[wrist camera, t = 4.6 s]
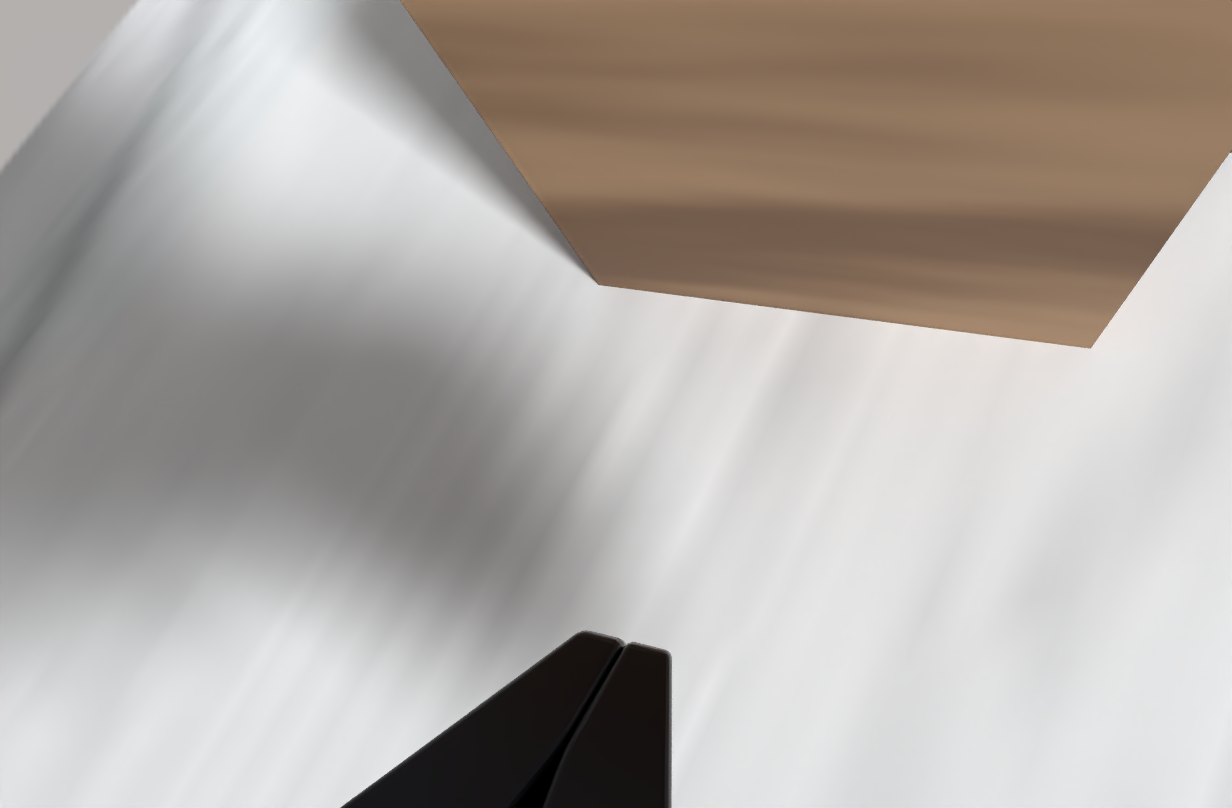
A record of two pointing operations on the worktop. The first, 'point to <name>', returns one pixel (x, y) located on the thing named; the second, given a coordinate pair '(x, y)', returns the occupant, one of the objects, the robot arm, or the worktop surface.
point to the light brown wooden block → (859, 146)
